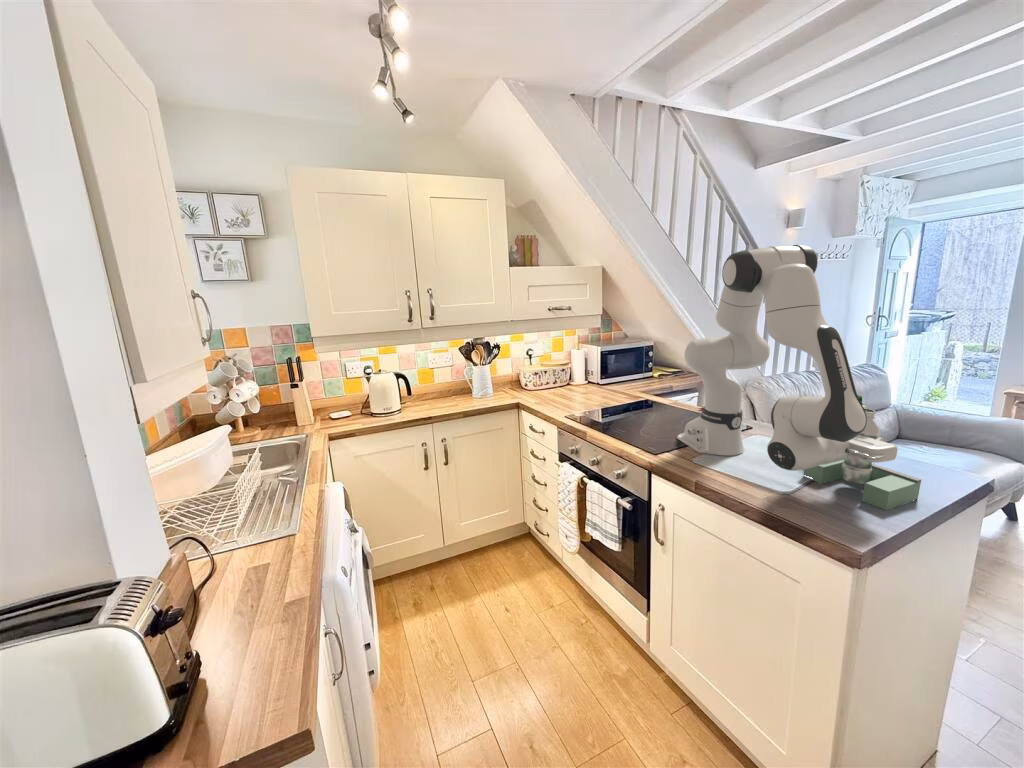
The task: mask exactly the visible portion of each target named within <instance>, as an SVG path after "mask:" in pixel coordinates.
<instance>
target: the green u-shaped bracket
mask: <svg viewBox="0 0 1024 768" xmlns="http://www.w3.org/2000/svg"><path fill="white" fill-rule="evenodd" d="M843 462H844V459H843V460H840V461H836V462H832V463H829V464H823V465H818V466H816V467H813V468H809V469H804V470H803V475H806V476H809V477H812V478H813V479H814V482H816V483H819V484H820V485H821V484H825V483H830V482H832V481H833V482H834V481H835V480H836V481H837V480H841V479H844V478H843V477H842V476H841V467H842V464H843ZM921 483H922V479H921V478H919V477H915V476H911V475H908V474H906V473H902V472H900V471H897V470H894V469H891V468H887V467H884V466H881V465H878V464H875V463H872V478H871V480H870V481H869V482H866V483H865V484H864V488H863V489H864V490H863V494H862V502H865V503H867V504H869V505H872V506H874V507H877V508H879V509H882V510H885V511H888V509H889V510H892V509H894V507H895V508H897V506H898V507H900V505H901V506H903V505H902V504H904V505H906V504H905V503H907V504H909V503H908V502H910V503H912V502H911V501H913V500H916V499H918V500H919V494H920V489H921V488H920V487H921ZM916 501H917V500H916ZM913 502H914V501H913ZM891 508H892V509H891Z"/></svg>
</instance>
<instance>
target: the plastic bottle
mask: <svg viewBox="0 0 1024 768" xmlns="http://www.w3.org/2000/svg"><path fill="white" fill-rule="evenodd" d="M864 410H865V413H866V418H867V423H866V427H865V429H864V430H863V431H862V432H861V433H860V434H859V435H862V436H865V437H869V438H873V437H879V434H880V430H879V429H880V428H879V427H878V425H877V423H876V422H875V421H874V419H875V418H876V415H875V414H876V410H874V409H869V408H867V409H865V408H864ZM872 464H873V462H868V461H864V460H861V459H858V458H855V457H852V456H849V455H848V456H847V457H846V458H845V459H844V462H843V464H842V467H841V476H842V477H843V478H842V479H843V480H845V481H847V482H850V483H853V484H858V485H865V483H866V482H869V481H870V480H871V478H872Z"/></svg>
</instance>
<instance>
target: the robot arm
mask: <svg viewBox="0 0 1024 768" xmlns="http://www.w3.org/2000/svg"><path fill="white" fill-rule="evenodd" d="M816 253H817V252H816V251H815V250H814V248H812V247H810V246H809V245H801V244H794V245H772V246H766V247H762V248H761V247H760V248H754V249H750V250H739V251H736V252H734V253H732V254H730V255H728V257H727V258H726V259H725V261H724V263H723V266H722V271H721V273H722V274H721V275H722V278H721V279H722V281H723V288H722V292H721V295H720V299H719V304H718V307H717V312H716V316H715V318H716V323H717V325H718V326H719V327H720V328H722V329H723V330H725V331H727V332H729V334H728V335H727V336H719V337H718V336H717V337H715V336H714V337H703V338H699V339H695V340H691V341H690V342H689V343H688V344H687V345H686V347H685V350H684V360H685V362H686V364H687V366H688V367H689V368H691V370H693V371H694V372H695V373H697V375H699V377H700V379H701V380H702V384H703V386H704V406H703V407H699V408H697V409H698V412H700V414H699V416H697V417H696V418H694V419H692V420H690V421H689V422H687V423H686V425H685V428H684V432H682V433H679V434H678V435H677V436H676V438H677V440H679V441H680V442H682V443H683V444H685V445H687V446H688V447H689V448H691V449H693V450H694V451H696V452H697V453H700V454H710V455H717V456H737V455H741V454H742V453H744V451H745V449H744V445H743V444H744V443H743V436H742V421H743V409H742V405H743V404H742V403H743V402H742V401H743V389H742V387H741V385H740V384H739V382H736V381H734V380H732V379H730V378H728V377H727V371H729V370H732V371H733V370H748V369H754V368H757V367H761V366H763V365H765V364H766V363H767V362H768V360H769V358H770V355H771V354H770V353H771V348H770V345H769V343H768V341H766V339H764V337H762V336H761V335H760V334H759V332H758V330H757V329H758V328H757V321H758V316H759V313H760V311H761V310H760V309H761V305H762V303H763V298H764V308H765V309H764V310H765V312H764V313H765V324H766V325H765V326H766V330H767V332H768V335H769V337H771V338H772V339H773V340H774V341H775V342H777V343H779V344H780V345H782V346H785V347H789V348H792V349H795V350H798V351H802V352H804V353H807V354H808V355H809V356H811V357H812V358H813V359H814V360H815V362H816V365H817V367H818V372H819V375H820V379H821V383H822V386H823V391H824V396H815V395H814V396H811V395H810V396H809V395H784V396H782V397H780V398H779V399H777V401H776V402H775V403H774V405H773V406H772V409H771V411H770V422H771V426H772V428H773V434H772V438H771V440H770V441H769V442H768V444H767V449H766V450H767V455H768V457H769V459H770V460H771V461H772V462H773V464H775V466H777V467H779V468H780V469H783V470H787V471H790V472H791V471H804V469H809V468H813V467H816V466H818V465H823V464H829V463H832V462H836V461H840V460H843V459H845V458H846V457H847V456H848V455H849V456H852V457H855V458H858V459H861V460H864V461H868V462H872V463H885V462H891V461H894V460H896V459H897V455H898V447H897V445H896V444H893V443H891V442H890V443H889V442H886V441H884V440H885V439H884V438H883V437H881V436H878V437H873V438H869V437H865V436H862V435H859V434H860V433H861V432H862V431H863V430H864V429H865V427H866V423H867V418H866V413H865V410H864V408H863V406H862V404H861V402H860V400H859V398H858V393H857V390H856V386H855V382H854V379H853V374H852V372H851V367H850V364H849V361H848V357H847V353H846V349H845V346H844V343H843V340H842V338H841V335H840V333H839V332H838V330H837V329H835V327H833V326H830V325H829V324H828V323H827V322H826V320H825V318H824V315H823V312H822V308H821V298H820V297H821V295H820V291H819V287H818V282H817V280H816V279H817V278H816V276H815V273H816V271H817V267H818V257H817V254H816Z"/></svg>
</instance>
